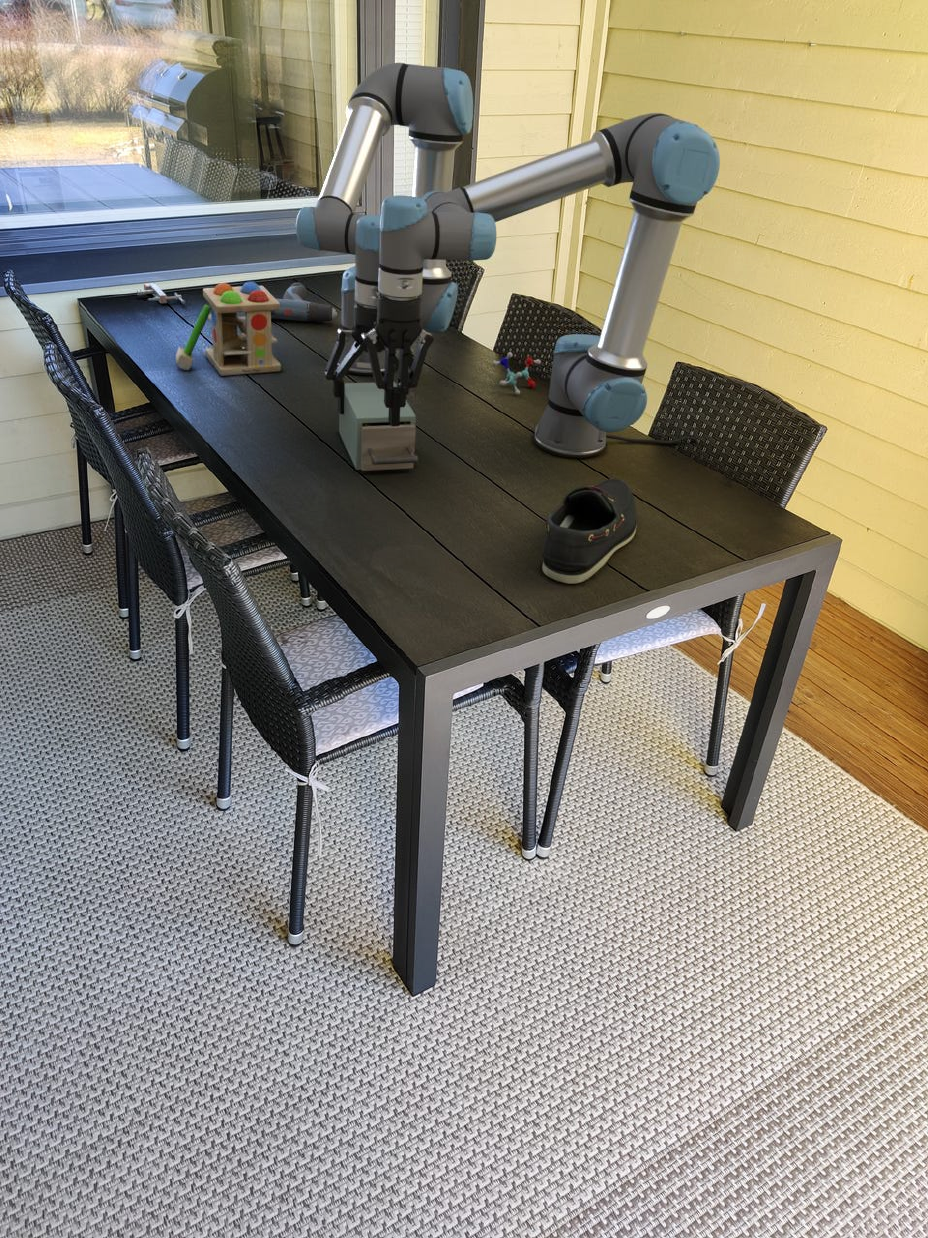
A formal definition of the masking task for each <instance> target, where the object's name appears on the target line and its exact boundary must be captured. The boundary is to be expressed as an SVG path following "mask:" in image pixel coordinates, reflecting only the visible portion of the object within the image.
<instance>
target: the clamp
mask: <svg viewBox="0 0 928 1238" xmlns="http://www.w3.org/2000/svg"><path fill="white" fill-rule="evenodd" d="M136 293H137V296H146V295H153V297H152V298H148V301H149V302H151V301H153V302H156V301H158V302H159V303H160V304H167V303H168V301H171V300H176V301H180V302H181V304H183V305H184V304H185V303H186V300H185V299H183V296H182V295H181V294H178V292H174V294H173V296H167V294H166V293H165V292H164V291H163V290H162V289H161V288H160V287H159V286H158V285H157V284H156V283H144V284H143V289H137V290H136Z"/></svg>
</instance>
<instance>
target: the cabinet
mask: <svg viewBox="0 0 928 1238" xmlns="http://www.w3.org/2000/svg"><path fill="white" fill-rule="evenodd" d="M344 383H345V382H344ZM393 387H398V386H397V382H395V381H394V385H393ZM388 416H389V408H386V406H385V404H384V389H379V388H378V387H377V386H376V384H375V382H350V383H349V382H348V383H347V382H346V383H345V392H344V414H340V413H339V416H338V417H339V423H338V425H339V426H338V428H339V429H338V430H339V431H338V432H339V434H340V437H341V441H342V442H343V444H344V447H345V449H346V451H347V453H348V455H349V458H350V460H351V463H352V464H353V467H354V469H355V470H356V471H362V470H361V439H362V423H378V422H389V421H388ZM416 419H417V416H416V414H415V413H414V411H413V409H412V408H411V406H410V404H409V403H408V401H407V400H406V405H405V407H400V422H404V421H407V423H408V425H412V424H414V425H415V426H416V422H417V421H416Z"/></svg>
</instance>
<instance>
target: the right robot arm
mask: <svg viewBox="0 0 928 1238" xmlns="http://www.w3.org/2000/svg"><path fill="white" fill-rule="evenodd" d="M720 156H721V155H720V151H719V148H718V146H717V143H716V141H715V140H714V138H713V137H712V135H711V134H710V133H709V132H707V131H706V130H704V129H703V128H702V127H700V126H699V125H697V124H696V123H693V122H691V121H685V120H682V119H680V118H676V117H673V116H671V115H668V114H665V113H662V112H650V113H649V112H648V113H645V114H641V115H637V116H633V117H631V118H629V119H626V120H623V121H619V122H618V123H615V124H612V125H610V126H608V127H604V128H602V129H599V130H596V131H594V133H592V136H591V138H590V140H586V141H584V142H581V143H578V144H575V145H573V146H570V147H567V148H565V149H562V150H560V151H557V152H554V153H551V154H549V155H546V156H544V157H541V158H538V159H535V160H533V161H530V162H527V163H524V164H522V165H518V166H516V167H513V168H510V169H507V170H505V171H502V172H500V173H496V174H494V175H492V176H489V177H486V178H483V179H481V180H477V181H475V182H472V183H470V184H466V185H464V186H460V187H459V188H455V189H452V191H449V192H446V193H445V192H442V191H431V192H428V193H426V194H425V195H424V196H423V197H422V198H417V197H412V195H410V196H409V195H402V194H401V195H391V196H388V197H386V198H384V200H383V201H382V203H381V209H380V215H381V219H380V225H379V228H380V250H379V276H378V291H379V292H380V294H379V295H378V303H377V320H376V322H375V324H374V329H373V330H371V331H370V332H368V333H362V335H361V338H362V339H363V341H364V343H365V344H366V346H367V350H368V354H369V359H370V364H371V368H372V373H373V375H372V377H373V383H375V384H376V386H377V387H378V388H379V389H384V404H385V406H386V408H389V416H388V421H389V423H390V424H391V426H400V407H405V405H406V401H407V395H406V393H407V392H408V389H409V390H410V389H415V388H417V386H418V383H419V380H420V377H421V373H422V370H423V367H424V364H425V360H426V356H427V353H428V350H429V349H430V347H431V346H432V344H433V343H434V341H435V337H434V336H433V335H432V333H431V332H426V331H425V330H423V328H422V325H421V322H420V316H421V298H420V296H419V295H420V294H421V293H422V278H423V264H424V260H425V259H429V260H446V261H468V262H469V261H470V262H474V261H486V260H489V259H491V258H492V257H493V254H494V252H495V250H496V245H497V226H496V225H497V224H496V223H497V222H500V221H503V220H506V219H509V218H511V217H515V216H517V215H520V214H523V213H525V212H528V211H531V210H533V209H537V208H539V207H543V206H544V205H547V204H551V203H552V202H555V201H558V200H561V199H563V198H567V197H569V196H573V195H575V194H578V193H580V192H584V191H586V190H589V189H591V188H594V187H596V186H600V185H603V186H605V187H607V188H611V187H615V186H617V185H620V184H625V183H632V185H631V190H630V192H629V197H628V200H629V202H630V205H631V206H632V208H633V214H632V219H631V221H630V226H629V230H628V233H627V236H626V241H625V243H624V247H623V251H622V254H621V258H620V263H619V265H618V270H617V273H616V277H615V281H614V285H613V287H612V290H611V291H612V292H611V295H610V298H609V301H608V305H607V310H606V314H605V317H604V321H603V325H602V329H601V332H600V335H595V334H586V333H585V334H583V333H575V334H565V335H563V336H560V337H559V338H558V339H557V341H556V343H555V348H554V351H553V359H552V367H551V374H550V382H549V391H548V398H547V405H546V407H545V409H544V412H543V414H542V415H541V418H540V419H539V422H538V423H536V426H535V427H534V436H533V441H534V443H535V445H536V447H538V448H539V449H541V450H542V451H544V452H547V453H549V454H550V455H554V456H558V457H563V458H567V459H590V458H593V457H598V456H599V455H601V454H603V453H604V452H605V450H606V445H607V439H610V440H616V441H617V440H618V441H624V442H627V443H628V442H629V443H637V444H639V443H640V444H642V443H643V444H656V445H657V444H659V445H673V444H678V443H681V442H684V441H687V440H689V439H688V438H689V437H687V436H688V435H686V436H683V437H680V438H677V439H673V440H658V439H646V438H644V439H642V438H641V439H640V438H630V437H629V438H628V437H624V436H619V435H612V434H606V433H617V432H622V431H624V430H627V429H628V428H629V427H631V426H633V425H634V424H636V422H638V421H639V420H640V419H641V417H642V416H643V414H644V413H645V411H646V408H647V404H648V394H647V391H646V388H645V386H644V384H643V382H644V379H645V375H646V373H647V369H648V362H647V360H646V358H645V356H644V350H645V347H646V345H647V344H646V343H647V341H648V338H649V333H650V330H651V327H652V323H653V321H654V317H655V314H656V310H657V307H658V303H659V301H660V297H661V293H662V290H663V286H664V283H665V280H666V277H667V273H668V270H669V267H670V264H671V260H672V258H673V253H674V250H675V248H676V244H677V240H678V237H679V233H680V230H681V227H682V224H683V223H684V222H685V221H686V220H688V219H689V218H691V217H692V216H694V215H695V210H696V207H697V205H698V202H699V201H701V200H702V199H704V197H705V196H706V195H708V194H709V193H710V192H711V191H712V189H713V188H714V186H715V184H716V181H717V180H718V176H719V172H720V167H721V157H720ZM377 335H378V336H379V338H380V339H381V341H382V342H383V344H384V345H385V368H384V374H381V370H380V365H379V360H378V355H377V351H376V348H375V346H374V344H376V342H377V340H376V336H377ZM417 339H418V343H417V346H416V349H415V353H414V355H413V358H414V359H413V363H412V366H411V370H410V369H409V355H410V349H411V347H412V346H413V344H414V343H415V342H416V340H417ZM397 350H398V360H399V368H398V369H397V371H398V372H397V381H398V387H393V385H394V382H395V369H394V364H395V355H396V356H397ZM408 370H410V373H409V376H408ZM690 440H691V441H693V442H694V443H696V444H698V443H699V440H698V439H697V438H696V439H690Z"/></svg>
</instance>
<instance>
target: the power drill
mask: <svg viewBox="0 0 928 1238" xmlns="http://www.w3.org/2000/svg"><path fill="white" fill-rule="evenodd" d="M307 295H308V290H307V287H306V285H304V284H303V283H301V282H293V283H292V284H291V285H290V286H289V287H288V288H287V289H286V291H285V292H284V294H283V297H282V298H275V299H276V300H277V301H278V302H279V303H280V310H271V319H274V320H275V319H276V320H283V321H294V322H295V321H297V322H332V321H333V320H334V319H336V318H337V317H338V312H337V311H336V308H334V307H333V306H332V305H331V304H324V303H317V302H313V301H307V300H305V299H306V297H307Z"/></svg>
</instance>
